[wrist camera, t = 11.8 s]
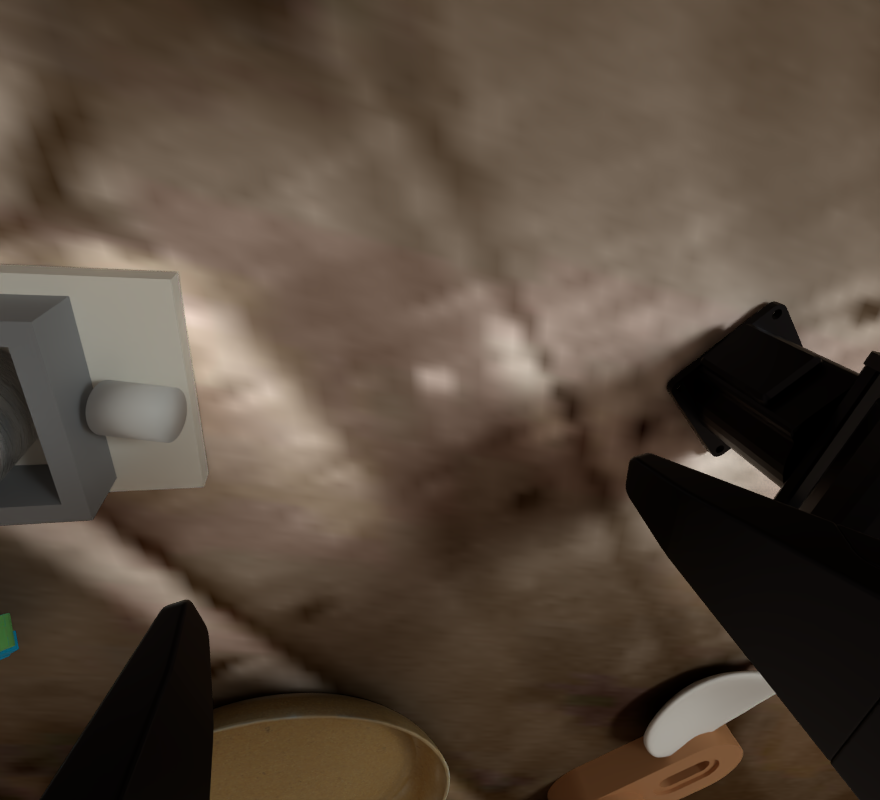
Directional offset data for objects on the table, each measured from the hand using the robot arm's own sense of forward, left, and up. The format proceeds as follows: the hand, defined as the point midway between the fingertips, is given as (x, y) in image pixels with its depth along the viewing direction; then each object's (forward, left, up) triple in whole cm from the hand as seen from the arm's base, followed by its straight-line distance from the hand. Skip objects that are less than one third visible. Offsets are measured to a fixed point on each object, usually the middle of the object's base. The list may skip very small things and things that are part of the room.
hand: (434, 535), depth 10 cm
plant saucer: (-20, +29, -13) cm, 37 cm away
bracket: (-49, +13, -13) cm, 52 cm away
